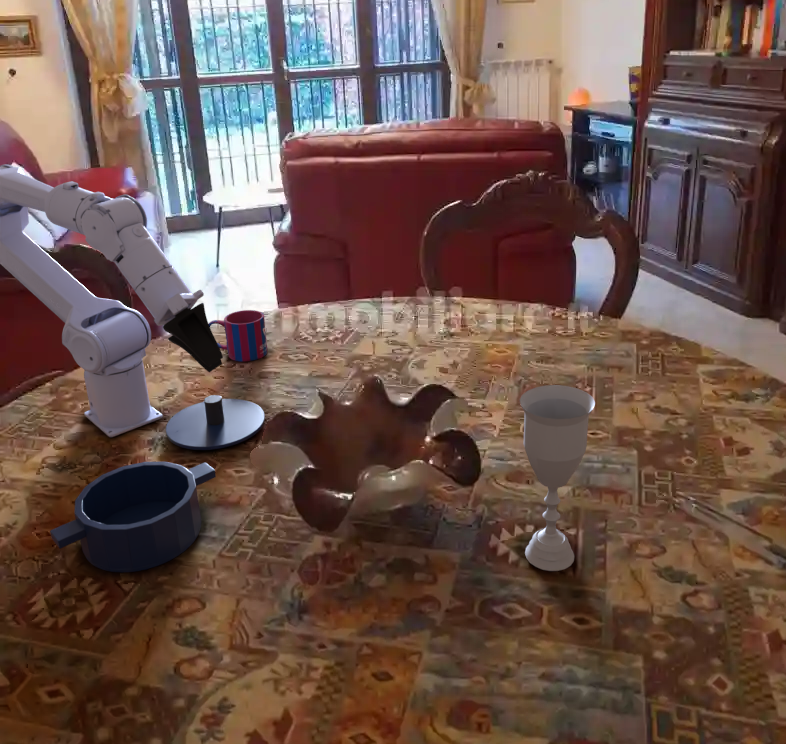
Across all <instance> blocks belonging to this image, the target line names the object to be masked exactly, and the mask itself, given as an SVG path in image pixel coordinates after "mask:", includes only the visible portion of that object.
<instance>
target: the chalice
mask: <svg viewBox="0 0 786 744" xmlns="http://www.w3.org/2000/svg"><path fill="white" fill-rule="evenodd" d="M519 404H520V406H521V408H522V410H523V413H524V418H523V448H524V450H525V453H526V457H527V460H528V462H529V465H530V467H531V469H532V470H533V473H534V474H535V476H536V478H537V480H538V482H539V483H540V484H541V485H542V486H544V487H547V494H546V496H545V497H544V498H543V501H544V503H545V504H546V510H545V511H544V512H543V513H542V518H543V519H544V520H545V523H546V526H545V527H543V528H540V529H539V530H537V531H535V533H533V535H532V537H531V539H530V540H529V543H528V545H526V547H525V551H524V554H525V557H526V560H527V561H528V562H529V563H530V564H531V565H532V566H534V567H535V568H538V569H540V570H543V571H548V572H558V571H562V570H566V569H568V568H569V567H571V566H572V564H573V563H574V561H575V553H574V551H573V549H572V547H571V543H569V539H568V537H567V536H566V535H565V534H564V533H563V531H561V530H559V529H557V526H556V524H557V522H558V520H560V519H561V514H560V513H559V511H558V510H557V507H558V505H559V504H560V503H561V499H560V497H559V493H558V490H559V488H562V487H565V486H566V485H567V483H568V482H569V481H570V479H571V478H572V476H573V475H574V473H575V472H576V471H577V469H578V468H579V466H580V464H581V462H582V459H583V458H584V455H585V453H586V451H587V446H588V434H589V433H588V432H589V431H588V430H589V416H590V414H591V413H592V412H593V410H594V409H595V405H596V401H595V399H594V397H593V396H592V395H591V394H589V393H588V392H587V391H585V390H582V389H580V388H578V387H573V386H569V385H561V384H560V385H559V384H549V385H540V386H536V387H533V388H530V389H528V390H526V391H525V392H524V393H522V394H521V395H520V398H519Z"/></svg>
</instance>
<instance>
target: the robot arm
mask: <svg viewBox="0 0 786 744" xmlns="http://www.w3.org/2000/svg"><path fill="white" fill-rule="evenodd" d="M29 209H32V210H36V211H39V212H44V213H45V216H46V218H47V220H48V221H49V222H50V223H51V224H53V225H55V226H58V227H60V228H64V229H66V230H69V231H72V232H75V233H76V234H80V235H83V236H84V237H85V239H84V241H85V242H86V243H87V244H88V245H89V246H90V247H91V248H92V249H94V250H96V251H99V252H100V253H102V254H103V256H104V257H105V259H106V260H107V261H109V262H113V263H114V264H115V266H116V267H117V268H118V270H119V271H120V272H121V274H122V275H123V276H124V278H125V280H126V281H127V282H128V284H129V285H130V287H131V288H132V289H133V291H134V293H135V294H136V295H137V297H138V298H139V299H140V300H141V302H142V303H143V305H144V306H145V307H146V309H147V310H148V311H149V313H150V315H151V316H152V317H153V322H154V323H155V325H156V326H158V327H159V326H162V328H163V330H164V332H166V333H168V334H170V335H171V336H169V337H168V339H167V340H168V341H169V342H170V343H172V344H174V345H176V346H178V347H179V348H181V349H182V350H184V351H185V352H186V353H188V354H189V356H191V357H192V358H193V359H194V360H195V361H196V362H197V363H198V364H199V366H201V367H202V368H203V369H204V370H205V371H206V372H208V373H211V372H212V371H214V370H215V369H217V368H218V367H220V366H221V365H222V364H223V362H222V359H223V358H224V356H223V353H222V349H220V348H219V346H218V344H217V343H218V341H217V340H216V338H215V336H214V333H213V331H212V330H211V326H210V327H209V321H208V318H207V314H206V309H205V308H206V307H205V303H204V302H201V303H199V304H197V305H195V304H196V303H197V302H198V301H199V300H200V299H201V298H202V297H204V296H205V295H204V294H205V293H204V291H203V290H202V289H199V290H197V291H195V292H192V291H191V290H190V288H189V287H188V285H187V284H186V282H185V281H184V279H183V278H182V276H180V274H179V273H178V271H177V270H176V269H175V267H174V266H173V264H172V263H171V261H170V260H169V258H168V257H167V256H166V254H165V253H164V252H163V250H162V249H161V248H160V246H159V244H158V243H157V241H156V240H155V239H154V238H153V236H152V235H151V234H150V232H149V230H148V228H147V227H148V217H147V214H146V211H145V208H144V207H143V205H142V204H141V203H140V202H139V201H138V199H136V198H134V197H132V196H130V195H129V194H121V195H118V196H116V197H115V198H113V197H112V198H111V197H109V196H106V195H105V193H104V192H102V191H96V192H93V191H90V190H88V189H84V188H82V187H79V183H78V182H75V181H72V180H71V181H67V182H63V183H60V184H58V185H56V186H55V187H53V186H51V185H49V184H47V183H44V182H42V181H39V180H38V179H36V178H33V177H30V176H29V175H26V174H25V173H24V171H23V170H22V168H21V167H18V166H13V165H11V164H1V165H0V265H1V266H2V267H3V268H4V269H5V270H6V271H8V273H10V275H12V277H14V278H15V279H16V280H17V281H18V282H19V283H20V284H21V285H23V286H24V287H25V288H26V289H27V290H28V291H29V292H31V293H32V294H33V295H34V296H35V297H36V298H37V299H38V300H39V301H40V302H41V303H42V304H44V306H46V308H48V309H49V310H50V311H51V312H52V313H53V314H55V316H57V317H58V318H59V319H60V320H61V321H62V322H63V323H64V326H63V329H62V333H61V344H62V346H64V347H65V348H67V350H68V351H69V353H70V355H72V358H73V360H74V361H75V363H76V364H77V365H78V366H79V367H80V368H81V369H82V370H84V371H83V378H84V379H83V381H84V384H85V389H86V394H87V399H88V404H89V410H86V411H84V413H83V414H84V417H86V418H87V419H88V420H89V421H90V422H92V424H94V425H95V426H96V427H97V428H98V429H99V430H100V431H102V432H103V433H104V434H105V435H106V436H107V437H108V438H114V437H117V436H120V435H122V434H125V433H126V432H129V431H132V430H135V429H137V428H139V427H142V426H145V425H148V424H150V423H153V422H155V421H158V420H161V419H163V417H164V415H163V414H162V412H160V411H158V410H157V409H155V408H154V407H153V406H152V405H151V403H150V397H149V391H148V385H147V378H146V371H145V367H144V359H143V358H145V357H146V356H147V352H146V349H147V348H148V347H149V346H150V344H151V342H152V330H151V326H150V323H149V322H148V320H147V319H146V317H145V316H144V315H143V314H142V313H141V312H139V311H138V310H136V309H134V308H130V307H127V306H126V305H124V304H123V302H121V301H120V300H116V299H109V298H102V297H97V296H95V295H94V294H93V293H92V292H91V291H89V289H87V288H86V287H85V286H84V285H83V284H82V283H81V282H79V281H78V279H76V278H75V277H74V276H73V275H72V274H71V273H70V272H69V271H67V270H66V269H65V268H64V267H63V266H61V264H59V263H58V261H56V260H55V259H54V258H52V257H51V256H50V255H49V253H47V252H46V251H45V250H44V249H43V248H41V247H40V246H39V245H38V244H37V243H36V242H35V241H34V240H32V239H31V237H29V236H28V235H27V234H26V233H25V232H24V231H25V229H26V227H27V226H28V225H29V223H30V219H29Z"/></svg>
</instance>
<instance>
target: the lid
mask: <svg viewBox="0 0 786 744" xmlns="http://www.w3.org/2000/svg"><path fill="white" fill-rule="evenodd" d="M265 421H266V416H265V412H264V410H263V408H262V407H261V406H259V405H258V404H256V403H254V402H252V401H249V400H245V399H240V398H223V397H222V396H221V395H218V394H213V395H208V396H206V397H205V398H204V399H203V401H201V402H197V403H195V404H192V405H188V406H187V407H185V408H182V409H181V410H179V411H178V412H176V413H175V414H174V415H172V417H171V418H170V419H169V420H168V421H167V423H166V426H165V433H166V434H165V435H166V438H167V439H168V441H170V442H171V443H172V444H174V445H175V446H178V447H180V448H183V449H187V450H194V451H210V450H219V449H223V448H227V447H231V446H234V445H235V446H236V445H237V444H240V443H243V442H245V441H247V440H248V439H250V438H253V436H254V435H256V434H257V433H259V431H260V430H261V429H262V428H263V426H264V424H265Z"/></svg>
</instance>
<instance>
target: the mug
mask: <svg viewBox="0 0 786 744" xmlns="http://www.w3.org/2000/svg"><path fill="white" fill-rule="evenodd" d="M208 324H209V327H210V328H211V326H212V325H214V324H215V325H220V326H221V327H223V328H224V331H225V332H224V333H225V340H226V341H225V342H226V344H223V343H222V344H221V343H218V342H217V344H218V346H219V348H220V350H225V351H227V356H228V358H229V359H230V360H232V361H235V362H251V361H252V362H253V361H257V360H259V359H263V357H265V356H266V355H267V354H268V341H267V340H268V339H267V332H266V331H267V330H266V320H265V314H264V312H262V311H259V310H254V309H243V310H236V311H233V312H231V313H229V314H227V315H225V316H224V318H223V320H221V319H214V320H210V321H209V322H208Z"/></svg>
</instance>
